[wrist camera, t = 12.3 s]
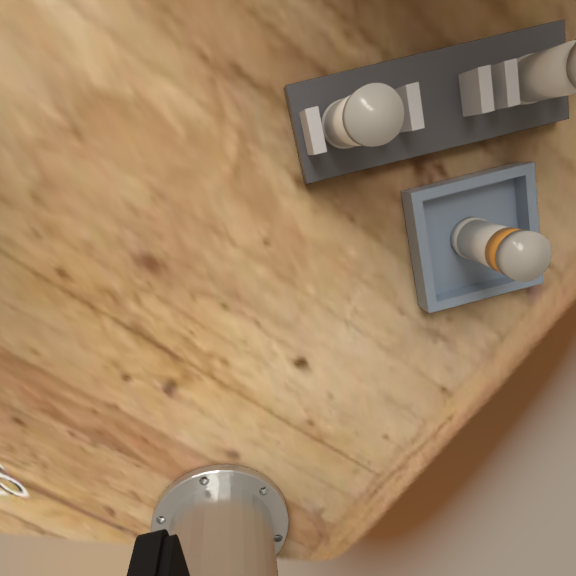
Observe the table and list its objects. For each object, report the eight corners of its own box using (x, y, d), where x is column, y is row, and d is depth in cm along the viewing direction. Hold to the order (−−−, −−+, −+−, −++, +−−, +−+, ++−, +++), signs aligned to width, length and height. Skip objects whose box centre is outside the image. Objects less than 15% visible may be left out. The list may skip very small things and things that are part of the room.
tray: (527, 276, 41) (543, 283, 39) (418, 305, 40) (428, 313, 38) (517, 161, 38) (534, 162, 36) (400, 191, 37) (410, 193, 35)
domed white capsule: (369, 142, 35) (408, 138, 27) (325, 153, 34) (352, 152, 27) (361, 94, 34) (399, 76, 26) (315, 105, 33) (341, 90, 26)
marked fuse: (487, 212, 38) (550, 226, 30) (491, 251, 39) (553, 275, 31) (447, 222, 38) (501, 238, 30) (452, 261, 39) (505, 287, 31)
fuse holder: (556, 120, 37) (596, 115, 33) (304, 182, 36) (313, 185, 32) (550, 24, 35) (593, 7, 31) (283, 88, 34) (290, 78, 30)
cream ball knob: (545, 99, 35) (632, 83, 28) (503, 109, 35) (579, 96, 27) (542, 51, 34) (632, 21, 27) (499, 61, 34) (576, 34, 27)
